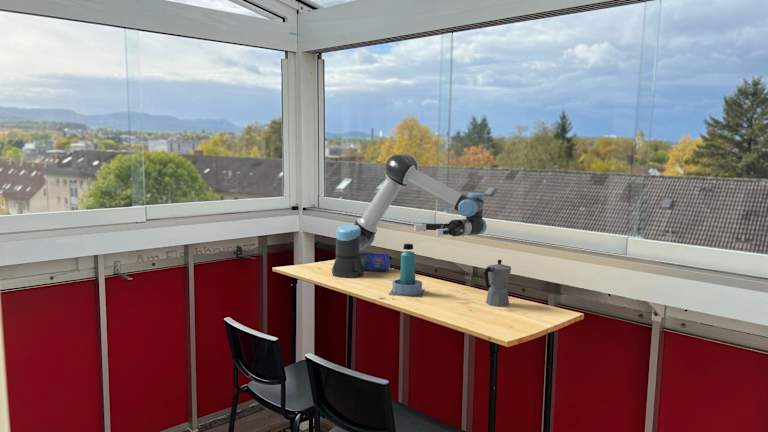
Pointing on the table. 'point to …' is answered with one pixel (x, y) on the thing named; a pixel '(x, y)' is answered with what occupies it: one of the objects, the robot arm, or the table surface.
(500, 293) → the coffeepot
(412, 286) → the bowl
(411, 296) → the mat
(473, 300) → the table surface
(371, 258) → the pencil case
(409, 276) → the beverage bottle
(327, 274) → the table surface
